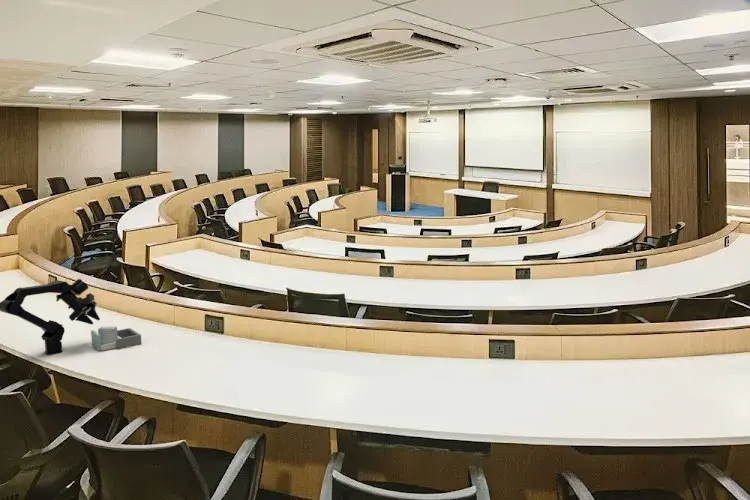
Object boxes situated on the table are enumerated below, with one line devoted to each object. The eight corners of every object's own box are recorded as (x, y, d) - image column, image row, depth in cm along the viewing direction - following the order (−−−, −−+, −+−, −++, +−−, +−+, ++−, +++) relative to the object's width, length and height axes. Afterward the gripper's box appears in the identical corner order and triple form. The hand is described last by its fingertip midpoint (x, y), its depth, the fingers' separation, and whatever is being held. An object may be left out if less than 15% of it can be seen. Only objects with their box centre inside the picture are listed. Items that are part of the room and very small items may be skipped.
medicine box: (118, 342, 287) (117, 326, 286) (114, 344, 283) (113, 328, 282) (102, 342, 287) (101, 326, 286) (99, 345, 283) (97, 328, 281)
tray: (99, 351, 276) (98, 336, 275) (91, 345, 286) (90, 330, 284) (125, 345, 285) (124, 330, 283) (117, 339, 294) (116, 325, 293)
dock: (117, 349, 280) (116, 339, 280) (107, 341, 292) (106, 332, 291) (141, 344, 288) (140, 334, 288) (130, 336, 300) (130, 327, 299)
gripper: (73, 294, 271) (98, 316, 273) (91, 285, 289) (114, 306, 291) (58, 310, 272) (83, 331, 274) (77, 300, 290) (100, 320, 292)
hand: (96, 321), depth 283 cm, fingers open, 7 cm apart
